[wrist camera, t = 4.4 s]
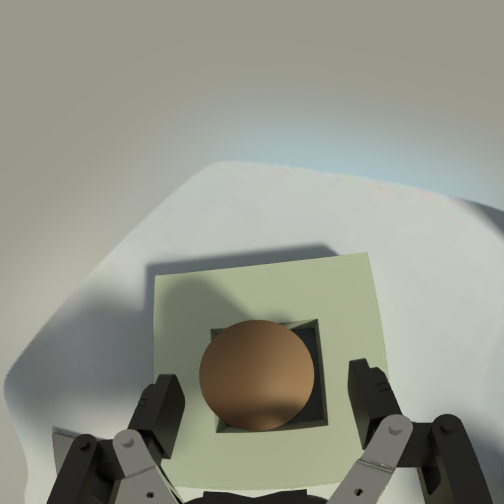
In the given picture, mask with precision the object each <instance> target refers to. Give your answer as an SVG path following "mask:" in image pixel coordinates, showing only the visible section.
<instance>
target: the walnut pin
mask: <svg viewBox="0 0 504 504" xmlns="http://www.w3.org/2000/svg"><path fill="white" fill-rule="evenodd" d="M199 383H200V388H201V392H202V395H203V397H204V399H205V401H206V403H207V405H208V406H209V408H210V409H211V410H212V411H213V412H214V413H215V414H216V415H217V416H218V417H219V418H220V419H221V420H223V421H224V422H226V423H228V424H229V425H232V426H234V427H236V428H240V429H243V430H250V431H262V430H269V429H273V428H276V427H278V426H281V425H283V424H285V423H287V422H288V421H290V420H291V419H292V418H294V417H295V416H296V415H297V414H298V413H299V412H300V411H301V410H302V408H303V407H304V406H305V404H306V402H307V401H308V399H309V397H310V394H311V392H312V388H313V383H314V367H313V362H312V359H311V356H310V353H309V351H308V349H307V347H306V346H305V344H304V343H303V342H302V340H301V339H300V338H299V337H298V336H297V335H296V334H295V333H294V332H292V331H291V330H289V329H288V328H286V327H284V326H282V325H280V324H277V323H275V322H271V321H267V320H248V321H243V322H239V323H236V324H234V325H231V326H229V327H228V328H226V329H224V330H223V331H222V332H220V333H219V334H218V335H217V336H216V337H215V338H214V339H213V340H212V341H211V342H210V344H209V345H208V347H207V348H206V350H205V352H204V354H203V356H202V359H201V363H200V368H199Z"/></svg>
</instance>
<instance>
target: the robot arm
mask: <svg viewBox="0 0 504 504" xmlns="http://www.w3.org/2000/svg"><path fill="white" fill-rule="evenodd" d="M347 389H348V396H349V400H350V403H351V407H352V411H353V414H354V418H355V422H356V426H357V430H358V434H359V438H360V442H361V446H362V450H365V451H364V453H363V455H362V456H361V458H360V459H357V460H356V462H355V463H354V464H353V466H352V467H351V469H350V471H349V472H348V474H347V475H346V476H345V478H344V479H343V481H342V482H341V484H340V485H339V487H338V488H337V489H336V491H335V492H334V494H333V495H332V496H331V498H330V499H329V500H327V499H324V498H321V497H318V496H313V495H307V489H304V490H293V491H280V492H277V493H273V494H269V495H265V496H261V497H256V498H251V497H246V496H241V495H237V494H233V493H228V492H208V491H204V493H203V497H200V498H196V499H193V500H190V501H188V502H186V503H185V502H184V501H183V499H182V498H181V497H180V495H179V494H178V492H177V491H176V489H175V488H174V486H173V484H172V483H171V481H170V479H169V478H168V476H167V474H166V473H165V471H164V469H163V467H162V466H161V462H162V459H170V460H171V456H172V453H173V449H174V445H175V441H176V438H177V434H178V431H179V427H180V423H181V420H182V416H183V413H184V409H185V396H184V393H183V391H182V388H181V386H180V383H179V381H178V378H177V376H176V375H175V374H159V376H158V378H157V380H156V383H155V384H150V385H149V386H148V387H147V388H146V389H145V390H144V391H143V393H142V395H141V398H140V400H139V402H138V405H137V407H136V409H135V412H134V414H133V416H132V419H131V421H130V423H129V426H128V428H127V430H123V431H121V432H119V433H118V434H116V436H115V437H114V439H110V440H101V441H97V440H96V438H95V437H94V436H92V435H90V434H82V435H80V436H78V437H76V438H75V439H74V441H73V442H72V444H71V447H70V449H69V451H68V453H67V455H66V458H65V460H64V462H63V465H62V467H61V469H60V472H59V474H58V476H57V479H56V481H55V483H54V486H53V488H52V491H51V493H50V496H49V498H48V501H47V504H115V501H116V498H117V494H118V490H119V487H120V483H121V480H122V479H124V482H125V485H126V487H127V489H128V491H129V494H130V496H131V498H132V500H133V502H134V504H376V503H377V501H378V500H379V498H380V496H381V494H382V493H383V491H384V489H385V487H386V486H387V484H388V482H389V480H390V478H391V476H392V474H393V473H394V471H395V469H396V467H416V468H417V472H418V475H419V479H420V483H421V488H422V492H423V496H424V501H425V504H493V502H492V499H491V496H490V493H489V490H488V487H487V484H486V481H485V478H484V476H483V473H482V470H481V468H480V465H479V462H478V460H477V457H476V455H475V452H474V450H473V447H472V445H471V442H470V440H469V438H468V435H467V433H466V431H465V429H464V426H463V424H462V422H461V420H460V419H459V418H458V417H456V416H455V415H451V414H444V415H440V416H439V417H437V418H436V419H435V420H434V422H433V423H416V422H412V421H411V420H410V419H409V418H407V417H406V416H403V414H402V412H401V410H400V407H399V405H398V403H397V400H396V398H395V395H394V393H393V391H392V390H391V386H390V384H389V382H388V379H387V377H386V374H385V373H384V372H383V371H382V370H381V369H380V368H378V367H373V368H370V367H369V364H368V362H367V360H366V358H362V359H356V360H350V361H349V368H348V382H347Z"/></svg>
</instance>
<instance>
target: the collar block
mask: <svg viewBox="0 0 504 504" xmlns="http://www.w3.org/2000/svg"><path fill="white" fill-rule="evenodd" d="M248 320H267V321H271V322H275V323H277V324H280V325H282V326H284V327H286V328H288V329H289V330H291V331H292V330H301V329H309V328H315V337H316V345H317V355H318V364H319V375H320V385H321V396H322V408H323V420H317V421H309V422H300V423H290V424H283V425H281V426H278V427H276V428H273V429H269V430H262V431H250V430H243V429H240V428H236V427H226V422H224V421H223V420H221V419H220V418H219V417H218V416H217V415H216V414H215V413H214V412H213V411H212V410H211V409H210V408H209V406H208V405H207V403H206V401H205V399H204V397H203V395H202V392H201V388H200V383H199V368H200V363H201V359H202V356H203V354H204V352H205V350H206V348H207V347H208V345H209V344H210V342H211V341H212V340H213V339H214V338H215V337H216V336H217V335H218V334H219V333H220V332H222V331H223V330H224V329H226V328H228V327H229V326H231V325H234V324H236V323H239V322H243V321H248ZM362 358H366V360H367V362H368V364H369V367H370V368H373V367H378V368H380V369H381V370H382V371H383V372H384V373H385V374H386V377H387V379H388V382H389V374H388V365H387V357H386V350H385V343H384V336H383V330H382V324H381V318H380V312H379V306H378V301H377V296H376V291H375V286H374V281H373V276H372V271H371V267H370V262H369V258H368V253H367V252H366V253H358V254H349V255H341V256H333V257H324V258H316V259H307V260H298V261H290V262H281V263H272V264H263V265H254V266H245V267H235V268H226V269H217V270H207V271H197V272H188V273H178V274H168V275H158V276H155V289H154V315H153V384H155V383H156V380H157V378H158V376H159V374H175V375H176V376H177V378H178V381H179V383H180V386H181V388H182V391H183V393H184V396H185V409H184V413H183V416H182V420H181V423H180V427H179V431H178V434H177V438H176V441H175V445H174V449H173V453H172V456H171V460H170V459H162V462H161V466H162V467H163V469H164V471H165V473H166V474H167V476H168V478H169V479H170V481H171V483H172V484H173V486H180V487H189V488H201V489H218V490H270V489H287V488H299V487H309V486H317V485H325V484H331V483H338V482H342V481H343V479H344V478H345V476H346V475H347V474H348V472H349V471H350V469H351V467H352V466H353V464H354V463H355V462H356V460H357V459H360V458H361V456H362V455H363V453H364V451H365V450H362V446H361V442H360V438H359V434H358V430H357V426H356V422H355V418H354V414H353V411H352V407H351V403H350V400H349V396H348V389H347V382H348V368H349V361H350V360H356V359H362ZM389 384H390V383H389Z"/></svg>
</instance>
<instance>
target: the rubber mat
mask: <svg viewBox="0 0 504 504" xmlns="http://www.w3.org/2000/svg"><path fill="white" fill-rule="evenodd" d="M52 438H53V448H54V457H55V465H56V472H57V476H58V474H59V472H60V469H61V467H62V465H63V462H64V460H65V458H66V455H67V453H68V451H69V449H70V447H71V444H72V442H73V441H74V439H75V438H74V437H70V436H67V435H63V434H60V433H52ZM115 504H134V502H133V500H132V498H131V496H130V494H129V491H128V489H127V487H126V485H125V482H124V479H122V480H121V483H120V487H119V490H118V494H117V498H116V501H115Z"/></svg>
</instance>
